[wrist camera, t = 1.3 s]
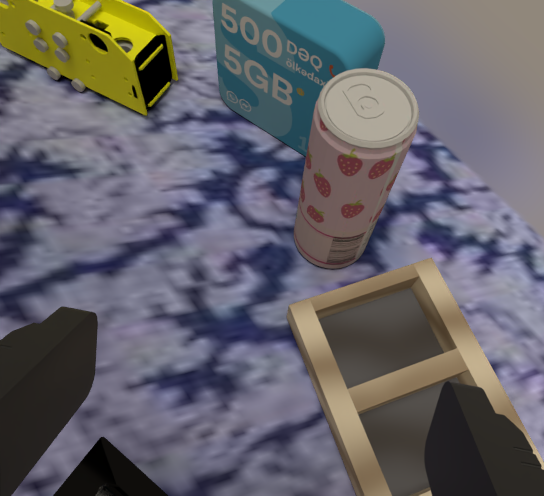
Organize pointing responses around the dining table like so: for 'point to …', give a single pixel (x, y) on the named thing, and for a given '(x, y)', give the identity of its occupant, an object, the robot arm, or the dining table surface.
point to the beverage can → (352, 163)
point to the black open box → (107, 475)
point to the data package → (288, 58)
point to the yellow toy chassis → (94, 46)
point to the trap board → (390, 371)
